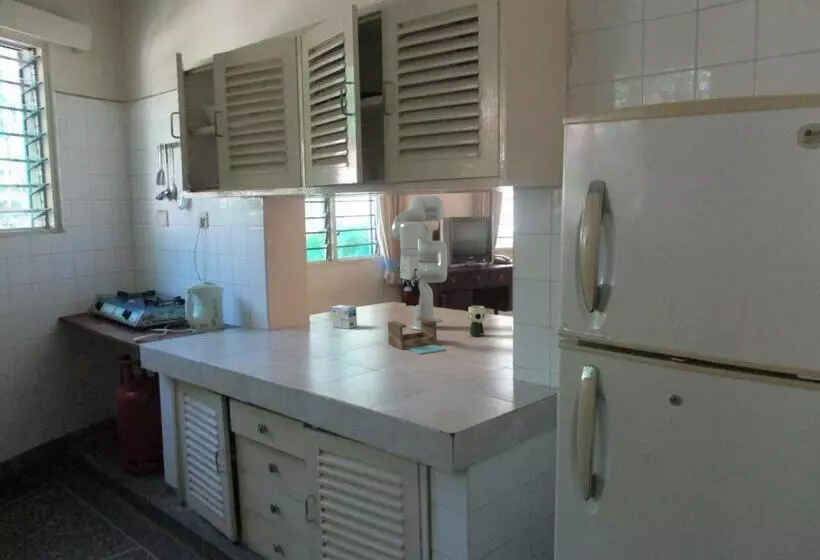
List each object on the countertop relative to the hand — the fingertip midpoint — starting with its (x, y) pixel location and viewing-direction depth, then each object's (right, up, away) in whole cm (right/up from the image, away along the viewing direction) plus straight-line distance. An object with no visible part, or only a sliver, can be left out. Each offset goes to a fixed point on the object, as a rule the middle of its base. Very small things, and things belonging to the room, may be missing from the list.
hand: (411, 293), depth 271 cm
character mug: (+30, -19, +16) cm, 39 cm away
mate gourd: (0, -5, +1) cm, 5 cm away
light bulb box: (-33, -18, +46) cm, 59 cm away
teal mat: (+7, -23, -9) cm, 25 cm away
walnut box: (+1, -22, +2) cm, 22 cm away
